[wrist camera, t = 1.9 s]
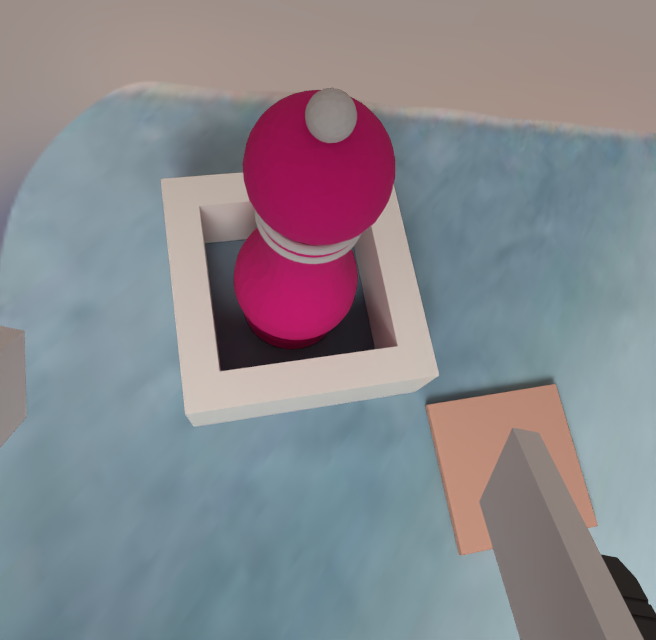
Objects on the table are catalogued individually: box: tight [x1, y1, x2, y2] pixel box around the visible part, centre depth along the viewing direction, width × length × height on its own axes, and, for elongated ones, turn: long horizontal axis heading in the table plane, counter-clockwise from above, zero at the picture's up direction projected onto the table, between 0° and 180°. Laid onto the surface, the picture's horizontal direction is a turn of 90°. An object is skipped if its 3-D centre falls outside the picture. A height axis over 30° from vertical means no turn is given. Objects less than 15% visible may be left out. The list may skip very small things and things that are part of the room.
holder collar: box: [161, 172, 439, 427], centre depth 35 cm, size 14×14×5 cm
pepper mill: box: [234, 88, 395, 349], centre depth 28 cm, size 7×7×20 cm
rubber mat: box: [425, 384, 598, 555], centre depth 36 cm, size 9×9×1 cm
